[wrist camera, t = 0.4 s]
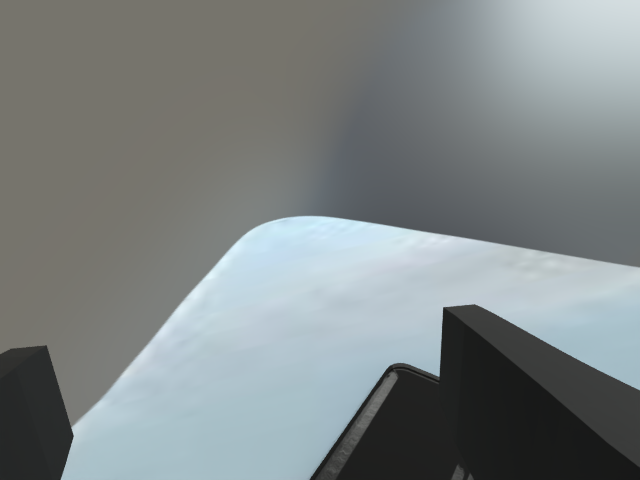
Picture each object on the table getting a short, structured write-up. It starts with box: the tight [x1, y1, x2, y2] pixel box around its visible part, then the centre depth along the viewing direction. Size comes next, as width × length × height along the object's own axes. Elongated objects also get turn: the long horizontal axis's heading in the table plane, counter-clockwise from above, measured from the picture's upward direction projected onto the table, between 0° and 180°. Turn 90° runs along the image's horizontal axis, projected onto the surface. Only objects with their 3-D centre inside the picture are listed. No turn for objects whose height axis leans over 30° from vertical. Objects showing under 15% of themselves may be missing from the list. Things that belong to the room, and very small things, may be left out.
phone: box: [310, 363, 474, 480], centre depth 28 cm, size 8×1×15 cm
